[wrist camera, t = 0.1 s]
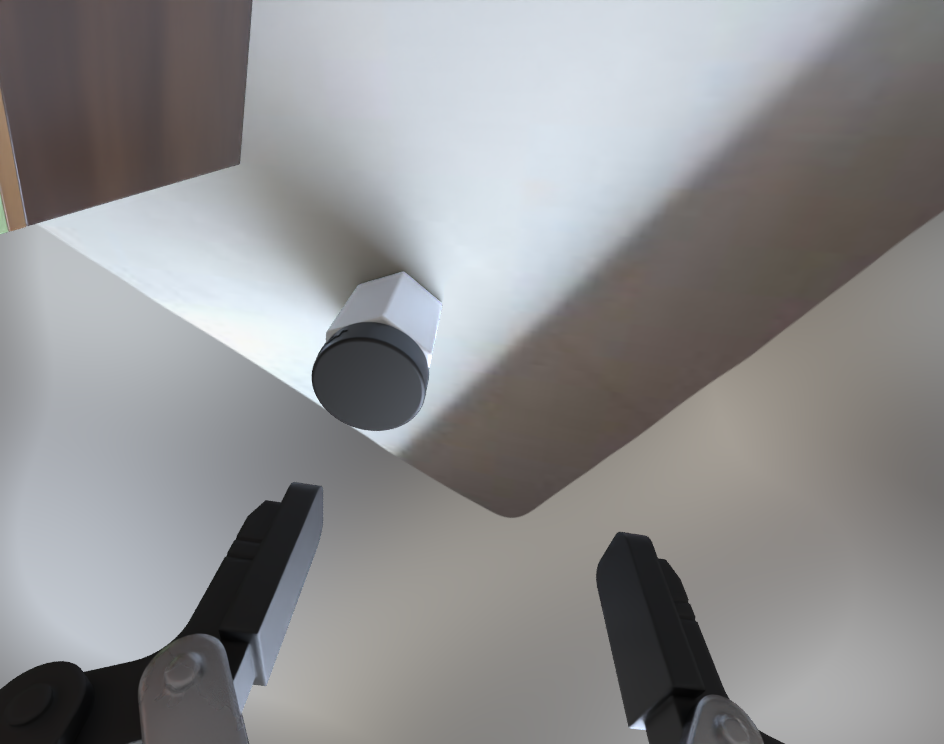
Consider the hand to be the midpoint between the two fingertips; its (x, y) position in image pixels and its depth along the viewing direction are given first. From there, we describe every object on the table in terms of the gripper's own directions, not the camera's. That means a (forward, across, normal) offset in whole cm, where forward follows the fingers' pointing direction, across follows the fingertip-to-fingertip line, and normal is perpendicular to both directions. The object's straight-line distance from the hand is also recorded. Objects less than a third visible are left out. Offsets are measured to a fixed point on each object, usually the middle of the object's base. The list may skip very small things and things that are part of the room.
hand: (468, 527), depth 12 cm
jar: (+29, +6, +9) cm, 31 cm away
